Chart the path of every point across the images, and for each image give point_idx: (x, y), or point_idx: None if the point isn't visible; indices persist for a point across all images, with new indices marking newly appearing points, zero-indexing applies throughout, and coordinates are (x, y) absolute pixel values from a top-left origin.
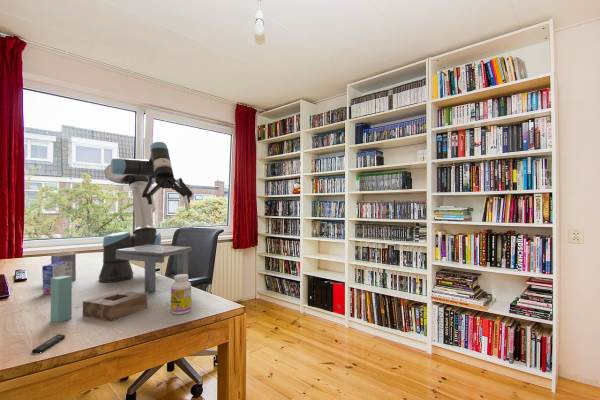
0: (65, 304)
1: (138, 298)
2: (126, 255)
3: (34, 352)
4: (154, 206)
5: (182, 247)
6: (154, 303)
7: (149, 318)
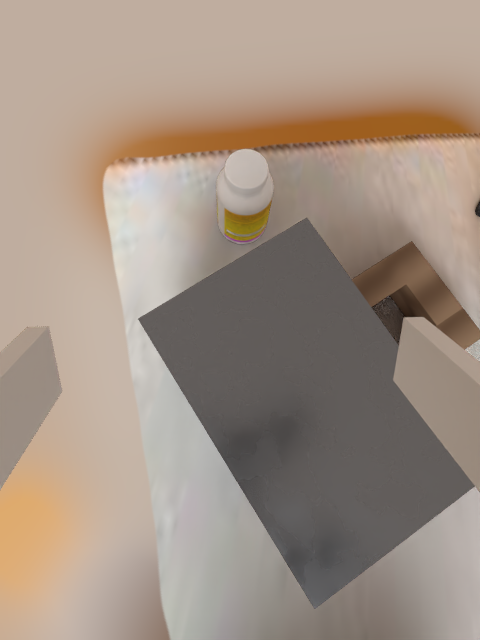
0: None
1: None
2: None
3: None
4: (422, 327)
5: (180, 341)
6: None
7: (316, 222)
